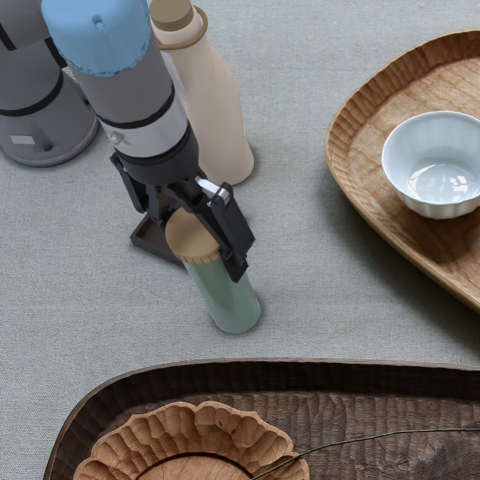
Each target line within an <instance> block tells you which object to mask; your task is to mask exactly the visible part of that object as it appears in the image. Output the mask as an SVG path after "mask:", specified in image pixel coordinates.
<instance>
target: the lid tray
mask: <svg viewBox="0 0 480 480" xmlns="http://www.w3.org/2000/svg"><path fill="white" fill-rule="evenodd" d="M171 200H172V201H174V202H173V204H172V205H171V206H170V208H169V209H168V210H169V212H170V210H171V209H172V208H175V209H177V210H178V209H179V208H181V207H182V206H181V205H180V204H179V202H178V201H177V200H176V199H175V198H172V197H171ZM128 238H129V239H130V241H131V243H132V244H133V246H135V247H137V248H139V249H142V250H144V251H146V252H148V253H150V254H153V255H155V256H157V257H159V258H162V259H164V260H166V261H169V262H171V263H173V264H175V265H178V266H180V267H182V268H184V269H186V267H185V266H184V264H183V262H182V260H179V258H177V257H176V256H175V255H174V254H173V252H172V250H171V249H170V247H169V245H168V244H167V243H168V242H167V240H166V236H165V235H164V233H163V232H162V231H161V229H160V227H159V225H158V224H157V223H156V222H154V221H153V220H152V219H151V218H150V214H149V213H147V212H146V214H144V216H143V218H142V219H141V221H140V222H139V223H138V225H136V227H135V229H134V230H133V231H132V232H131V234H130V235H129V237H128Z"/></svg>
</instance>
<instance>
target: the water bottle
mask: <svg viewBox="0 0 480 480" xmlns="http://www.w3.org/2000/svg"><path fill="white" fill-rule="evenodd" d="M148 8H149V14H150V26H151V29H152V31H153V34H154V36H155V39H156V41H157V44H158V46H159V49H160V52H161V54H162V57H163V60H164V62H165V65H166V68H167V70H168V73H169V74H170V76H171V79H172V80H173V82H174V85H175V87H176V89H177V92H178V94H179V96H180V99H181V101H182V103H183V106H184V108H185V110H186V114H187V118H188V120H189V122H190V124H191V127H192V129H193V132H194V134H195V136H196V139H197V141H198V145H199V166H200V168H201V169H202V170H203V171H204V172H205V174H206V175H207V178H208V181H210V182H212V183H213V184H215V185H217V186H221V184H222V183H223V182H227V183H229V184H230V185H231V186H234V185H237V184H240V183H242V182H243V181H245V180H246V179H247V178H248V177H249V176H250V175H251V174H252V172H253V170H254V167H255V158H254V155H253V152H252V150H251V147H250V145H249V142H248V140H247V137H246V135H245V124H244V116H243V110H242V102H241V97H240V92H239V89H238V85H237V83H236V80H235V78H234V76H233V72H232V70H231V68H230V67H229V65H228V63H227V61H226V59H225V58H224V56H223V54H221V53H220V52H219V50H217V48H216V47H214V46H213V44H212V43H211V42H210V41H209V40H208V38H207V35H206V32H207V30H208V28H209V27H208V26H209V19H208V16H207V14H206V12H205V11H204V10H203V9H202V8H201V7H199V6H197V5H195V4H192V3H191V0H151V2H150V3H149V4H148ZM200 17H201V18H200ZM201 20H202V21H201Z"/></svg>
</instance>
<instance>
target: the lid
mask: <svg viewBox="0 0 480 480" xmlns="http://www.w3.org/2000/svg"><path fill="white" fill-rule="evenodd" d="M165 236H166V240H167V242H168V243H167V244H168V245H169V247H170V249H171V250H172V252H173V254H174V255H175V256H176V257H177V258H179V260H182V261H184V262H186V263H189V264H194V265H195V264H206V263H209V262H212V261H214V260H216V259H218V258H220V257H221V256H220V254H219V252H218V250H219V249H220V245H219V244H218V243H217V242H216V241H215V239H214V238H213V237H212V236H211V234H210V233H209V232H208V231H207V230H206V228H205V227H204V226H203V225H202V224H201V222H200V221H199V220H198V219H197V217H196V216H195V215H194V214H191V213H187V212H186V211H185V210H184V209H183V207H181V208H179V209H178V210H177V211H176V212H175V213H173V215H172V216H171V217H170V219H169V220H168V222H167V225H166V229H165Z"/></svg>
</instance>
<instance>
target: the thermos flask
mask: <svg viewBox="0 0 480 480" xmlns="http://www.w3.org/2000/svg"><path fill="white" fill-rule="evenodd" d="M182 262H183V264H184V266H185V267H186V268H185V269H186V271H187V273H188V275H189V277H190V278H191V280H192V283H193V284H194V287H195V288H196V290H197V292H198V293H199V295H200V297H201V299H202V301H203V303H204V305H205V307H206V308H207V310H208V312H209V314H210V315H211V318H212V320H213V322H214V323H215V325H216V326H217V328H219V329H220V330H221V331H222V332H225V333H227V334H232V335H233V334H235V335H237V334H242V333H245V332H247V331H249V330H250V329H252V328H253V327H255V325H256V324H257V323H258V321H259V319H260V317H261V305H260V302H259V300H258V297H257V295H256V293H255V290H254V287H253V286H252V283H251V281H250V278H249V276H248V274H247V270H246V271H245V273H244V274H243V276H242V277H241V279H240V280H239V282H238V283H235V282H233V281H232V280H231V278H230V276H229V274H228V272H227V269H226V267H225V265H224V263H223V261H222V259H221V257H220V258H218V259H216V260H214V261H212V262H209V263H206V264H195V265H194V264H189V263H186V262H184V261H182Z"/></svg>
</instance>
